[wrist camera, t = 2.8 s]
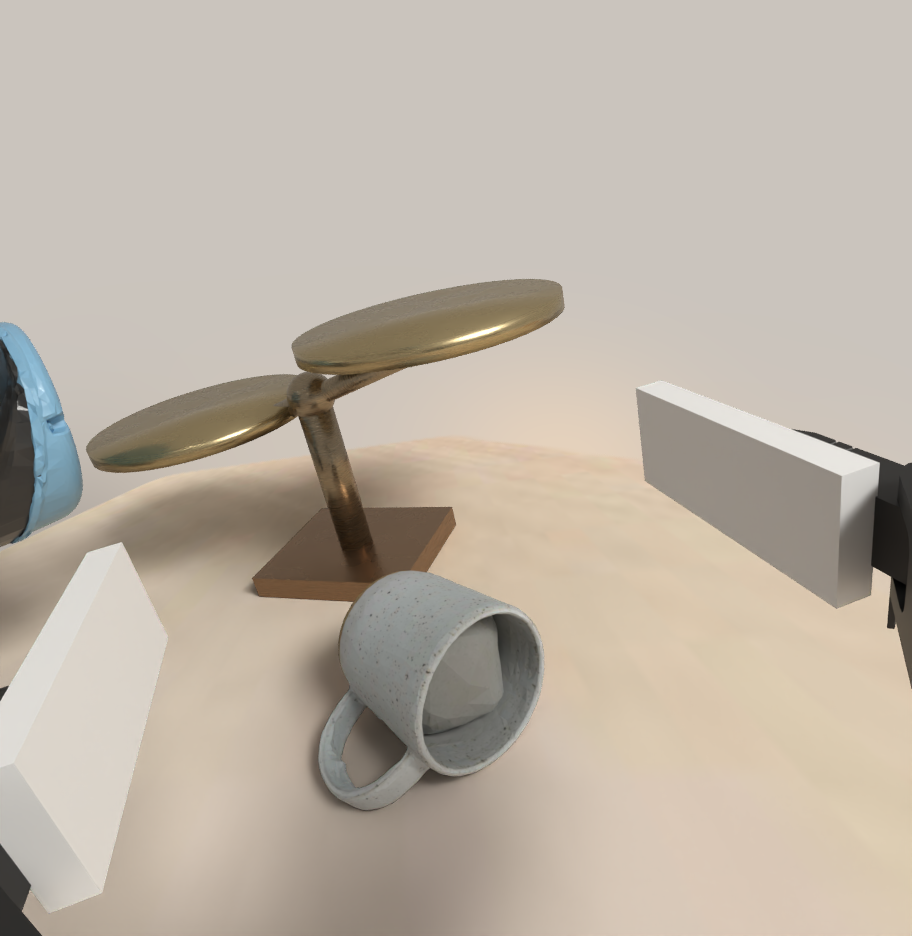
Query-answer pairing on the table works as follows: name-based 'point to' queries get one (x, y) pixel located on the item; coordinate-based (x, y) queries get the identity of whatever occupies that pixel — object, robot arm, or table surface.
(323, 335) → the balance
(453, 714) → the ceramic mug
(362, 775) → the table surface
